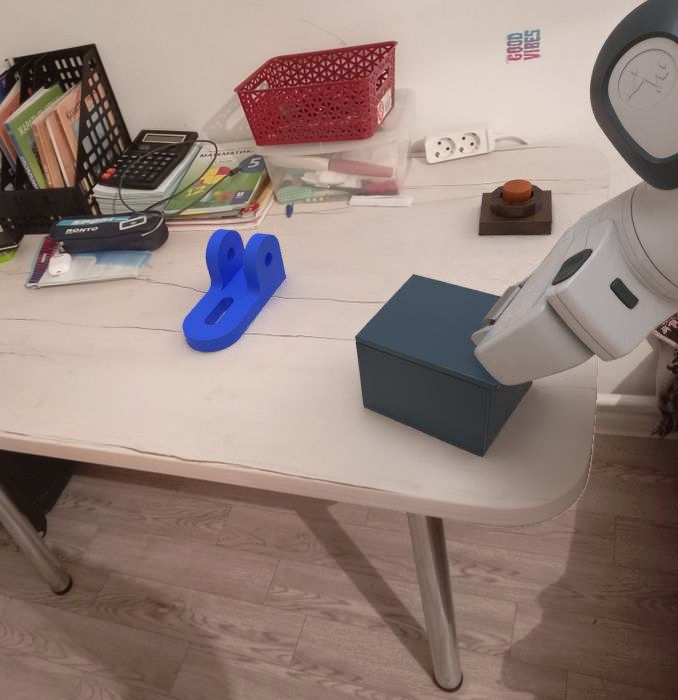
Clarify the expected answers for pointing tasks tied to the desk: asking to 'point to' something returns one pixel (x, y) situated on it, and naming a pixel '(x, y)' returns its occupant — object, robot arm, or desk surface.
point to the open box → (436, 400)
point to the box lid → (437, 326)
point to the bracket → (234, 288)
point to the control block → (516, 214)
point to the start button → (517, 191)
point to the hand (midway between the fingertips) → (495, 319)
